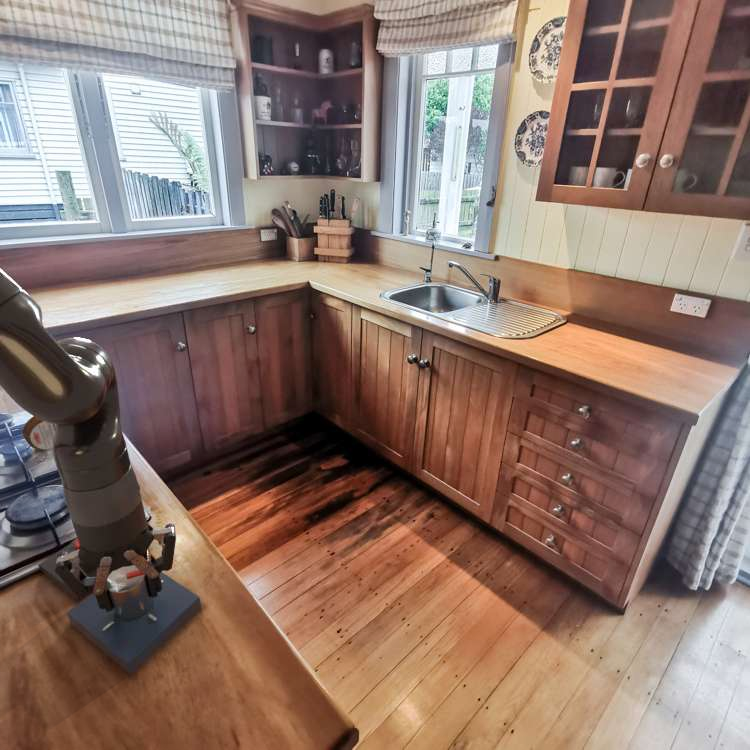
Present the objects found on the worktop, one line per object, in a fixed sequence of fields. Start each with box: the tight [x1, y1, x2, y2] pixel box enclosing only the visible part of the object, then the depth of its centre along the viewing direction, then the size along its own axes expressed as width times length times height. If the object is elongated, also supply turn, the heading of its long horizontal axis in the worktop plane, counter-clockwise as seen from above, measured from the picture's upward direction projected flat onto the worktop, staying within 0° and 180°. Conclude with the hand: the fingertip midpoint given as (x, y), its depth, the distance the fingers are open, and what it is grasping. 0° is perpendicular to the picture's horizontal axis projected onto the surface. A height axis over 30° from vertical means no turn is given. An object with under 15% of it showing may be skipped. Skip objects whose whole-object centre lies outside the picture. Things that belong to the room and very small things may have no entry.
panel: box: [66, 571, 202, 676], centre depth 64 cm, size 13×11×3 cm
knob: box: [106, 565, 154, 620], centre depth 62 cm, size 5×5×6 cm
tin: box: [22, 415, 56, 452], centre depth 100 cm, size 15×3×8 cm, turn 135°
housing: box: [38, 537, 112, 603], centre depth 72 cm, size 10×11×4 cm
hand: (133, 598), depth 63 cm, fingers closed on knob, 5 cm apart
